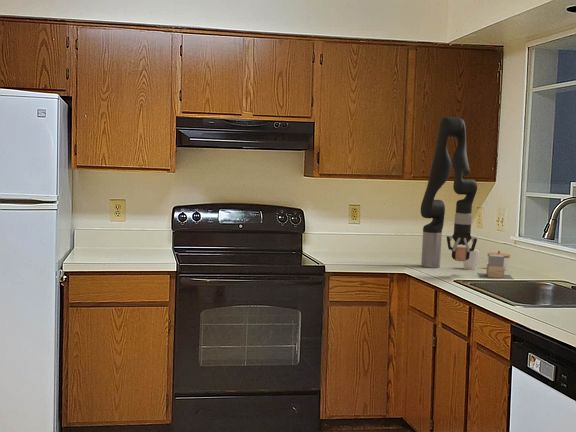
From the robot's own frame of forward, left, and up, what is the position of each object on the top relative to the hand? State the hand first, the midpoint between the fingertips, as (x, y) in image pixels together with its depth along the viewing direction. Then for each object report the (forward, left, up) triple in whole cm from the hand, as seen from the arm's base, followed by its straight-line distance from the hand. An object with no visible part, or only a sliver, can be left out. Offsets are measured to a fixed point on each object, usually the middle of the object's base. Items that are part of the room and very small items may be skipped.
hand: (460, 259), depth 343 cm
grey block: (-2, +16, -2) cm, 17 cm away
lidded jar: (-29, +21, -8) cm, 37 cm away
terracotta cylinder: (0, 0, -1) cm, 1 cm away
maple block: (-2, +16, -7) cm, 18 cm away
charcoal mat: (-2, +16, -8) cm, 18 cm away
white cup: (-22, +7, -8) cm, 24 cm away
